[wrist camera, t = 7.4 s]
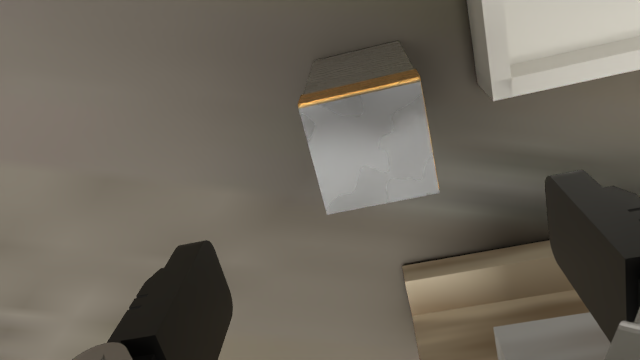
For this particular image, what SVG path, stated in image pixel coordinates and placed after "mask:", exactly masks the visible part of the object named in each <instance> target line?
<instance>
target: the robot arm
mask: <svg viewBox="0 0 640 360" xmlns="http://www.w3.org/2000/svg"><path fill="white" fill-rule="evenodd" d="M545 193H546V205H547V217H548V229H549V239H550V245H551V249H552V252H553V255H554V258H555V260H556V262H557V264H558V265H559V267H560V268H561V270H562V271H563V273H564V274H565V276H566V277H567V279H568V280H569V282H570V283H571V285H572V286H573V288H574V289H575V291H576V292H577V294H578V295H579V297H580V298H581V300H582V301H583V303H584V304H585V306H586V307H587V309H588V310H589V312H590V313H591V315H592V316H593V318H594V319H595V320H596V322H597V323H598V325H599V326H600V328H601V329H602V331H603V332H604V334H605V335H606V337H607V338H608V340H609V341H610V343H611V345H610V347H609V349H608V352H607V354H606V357H605V359H604V360H640V198H639V197H638V196H637V195H636V194H634V193H631V192H628V191H625V190H623V189H620V188H617V187H615V186H610V187H604V188H603V187H602V186H600V185H599V184H598V183H597V182H596V181H595V180H594V179H593V178H592V177H591V176H590V175H588V174H587V173H586V172H585V171H584V170H577V171H572V172H567V173H562V174H556V175H551V176H547V177H546V180H545ZM232 311H233V306H232V297H231V293H230V290H229V287H228V285H227V282H226V279H225V277H224V274H223V271H222V268H221V266H220V263H219V260H218V257H217V255H216V252H215V249H214V247H213V245H212V244H211V242H210V241H207V240H206V241H201V242H195V243H190V244H185V245H180V246H178V247H177V248H176V249H175V251H174V252H173V254H172V256H171V257H170V259H169V261H168V262H167V264H166V266H165V267H164V268H161V269H160V270H159V271H157V272H156V273H155V274H154V275H153V276H152V277H151V278H149V279H148V280H147V281H146V282H145V283H144V285H143V286H142V288H141V290H140V291H139V293H138V294H137V298H136V299H134V301H133V302H132V304H131V305H130V307H129V310H127V312H126V313H125V315H124V316H123V318H122V320H121V321H120V323H119V324H118V326H117V327H116V329H115V331H114V332H113V334H112V335H111V337H110V338H109V340H108V342H107V343H104V344H100V345H97V346H95V347H92V348H90V349H88V350H86V351H84V352H82V353H81V354H79V355H77V356H76V357H75V358H73V359H72V360H218V357H219V354H220V351H221V348H222V345H223V342H224V339H225V336H226V333H227V330H228V327H229V324H230V321H231V318H232Z"/></svg>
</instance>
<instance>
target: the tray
mask: <svg viewBox="0 0 640 360" xmlns="http://www.w3.org/2000/svg"><path fill="white" fill-rule="evenodd" d="M467 7H468V15H469V23H470V31H471V39H472V46H473V54H474V62H475V70H476V78H477V84H478V85H479V86H480V87H481V88H482V89H483V91H484V92H485V93H486V94H487V95H488V96H489V97H490V98H491V99H492V100H493V101H496V100H501V99H506V98H510V97H515V96H519V95H524V94H529V93H533V92H538V91H543V90H547V89H552V88H556V87H561V86H566V85H570V84H575V83H579V82H584V81H589V80H593V79H598V78H603V77H607V76H612V75H616V74H621V73H626V72H630V71H635V70H640V0H467Z"/></svg>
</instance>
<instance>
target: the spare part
mask: <svg viewBox="0 0 640 360" xmlns="http://www.w3.org/2000/svg"><path fill="white" fill-rule="evenodd" d="M298 107H299V112H300V116H301V120H302V124H303V127H304V131H305V135H306V138H307V142H308V146H309V149H310V153H311V157H312V161H313V164H314V168H315V172H316V175H317V179H318V183H319V187H320V190H321V194H322V198H323V201H324V205H325V209H326V213H327V215H328V214H333V213H339V212H344V211H349V210H354V209H359V208H364V207H370V206H375V205H380V204H385V203H390V202H395V201H401V200H406V199H411V198H416V197H421V196H427V195H432V194H437V193H439V185H438V179H437V173H436V167H435V161H434V155H433V149H432V143H431V137H430V132H429V126H428V120H427V114H426V108H425V102H424V96H423V90H422V84H421V79H420V75H419V74H418V72H417V70H416V69H414V68H413V67H412V65H411V63H410V61H409V59H408V57H407V55H406V53H405V52H404V50H403V48H402V46H401V44H400V42H399V41H395V42H391V43H386V44H382V45H378V46H374V47H370V48H366V49H361V50H357V51H353V52H349V53H345V54H340V55H336V56H332V57H328V58H324V59H319V60H315V61H314V62H313V65H312V69H311V72H310V75H309V78H308V81H307V84H306V87H305V90H304V94H303V95H301V96H300V99H299V102H298Z"/></svg>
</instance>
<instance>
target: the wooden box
mask: <svg viewBox="0 0 640 360" xmlns="http://www.w3.org/2000/svg"><path fill="white" fill-rule="evenodd" d="M402 268H403V274H404V280H405V285H406V290H407V294H408V299H409V303H410V308H411V313H412V318H413V324H414V329H415V335H416V341H417V347H418V353H419V359H420V360H604V359H605V357H606V354H607V352H608V349H609V347H610V345H611V343H610V341H609V340H608V338H607V337H606V335H605V334H604V332H603V331H602V329H601V328H600V326H599V325H598V323H597V322H596V320H595V319H594V318H593V316H592V315H591V313H590V312H589V310H588V309H587V307H586V306H585V304H584V303H583V301H582V300H581V298H580V297H579V295H578V294H577V292H576V291H575V289H574V288H573V286H572V285H571V283H570V282H569V280H568V279H567V277H566V276H565V274H564V273H563V271H562V270H561V268H560V267H559V265H558V264H557V262H556V260H555V258H554V255H553V252H552V249H551V245H550V240H548V241H542V242H536V243H531V244H525V245H519V246H514V247H508V248H502V249H496V250H491V251H485V252H479V253H474V254H468V255H462V256H457V257H451V258H445V259H439V260H434V261H428V262H422V263H417V264H411V265H405V266H402Z"/></svg>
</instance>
